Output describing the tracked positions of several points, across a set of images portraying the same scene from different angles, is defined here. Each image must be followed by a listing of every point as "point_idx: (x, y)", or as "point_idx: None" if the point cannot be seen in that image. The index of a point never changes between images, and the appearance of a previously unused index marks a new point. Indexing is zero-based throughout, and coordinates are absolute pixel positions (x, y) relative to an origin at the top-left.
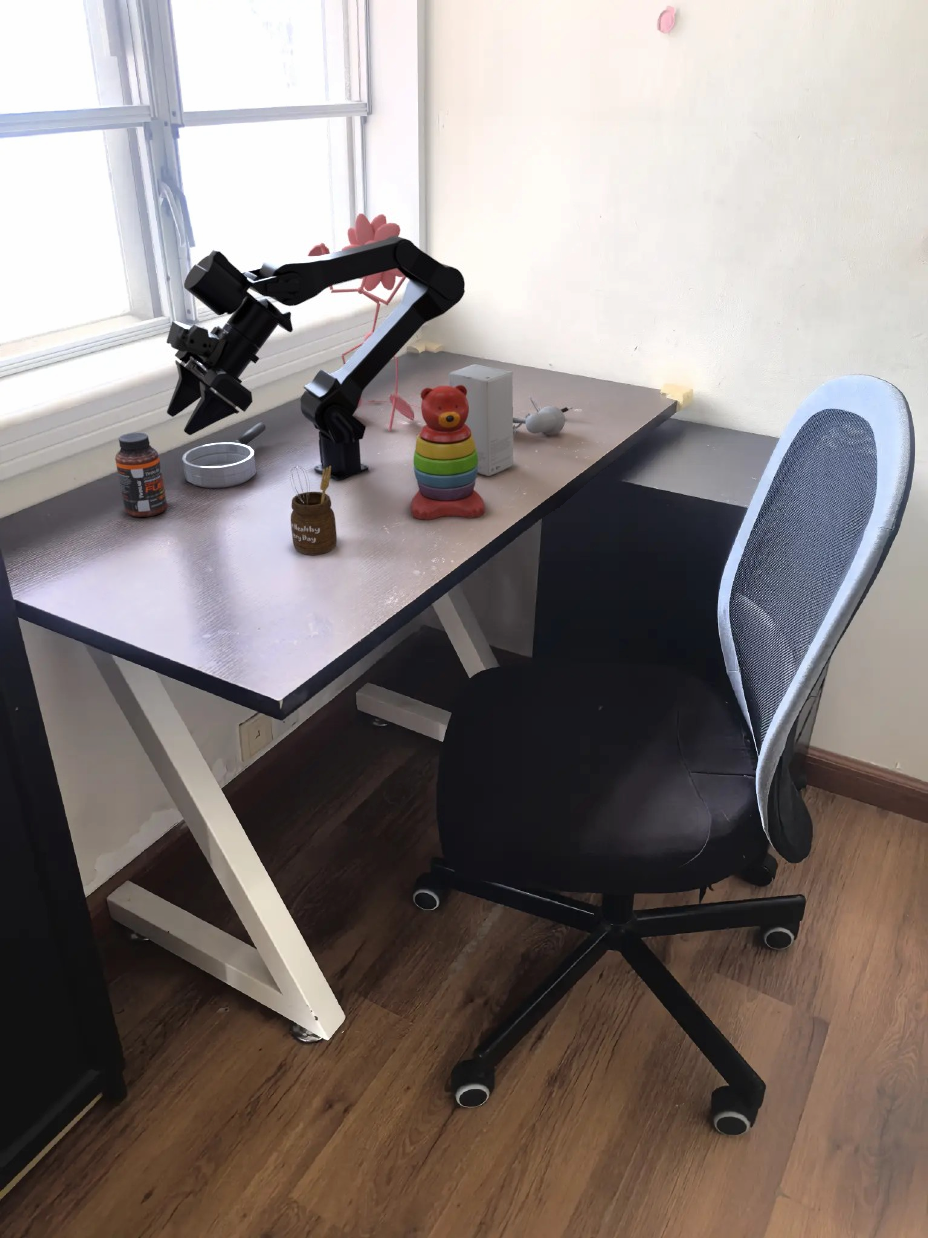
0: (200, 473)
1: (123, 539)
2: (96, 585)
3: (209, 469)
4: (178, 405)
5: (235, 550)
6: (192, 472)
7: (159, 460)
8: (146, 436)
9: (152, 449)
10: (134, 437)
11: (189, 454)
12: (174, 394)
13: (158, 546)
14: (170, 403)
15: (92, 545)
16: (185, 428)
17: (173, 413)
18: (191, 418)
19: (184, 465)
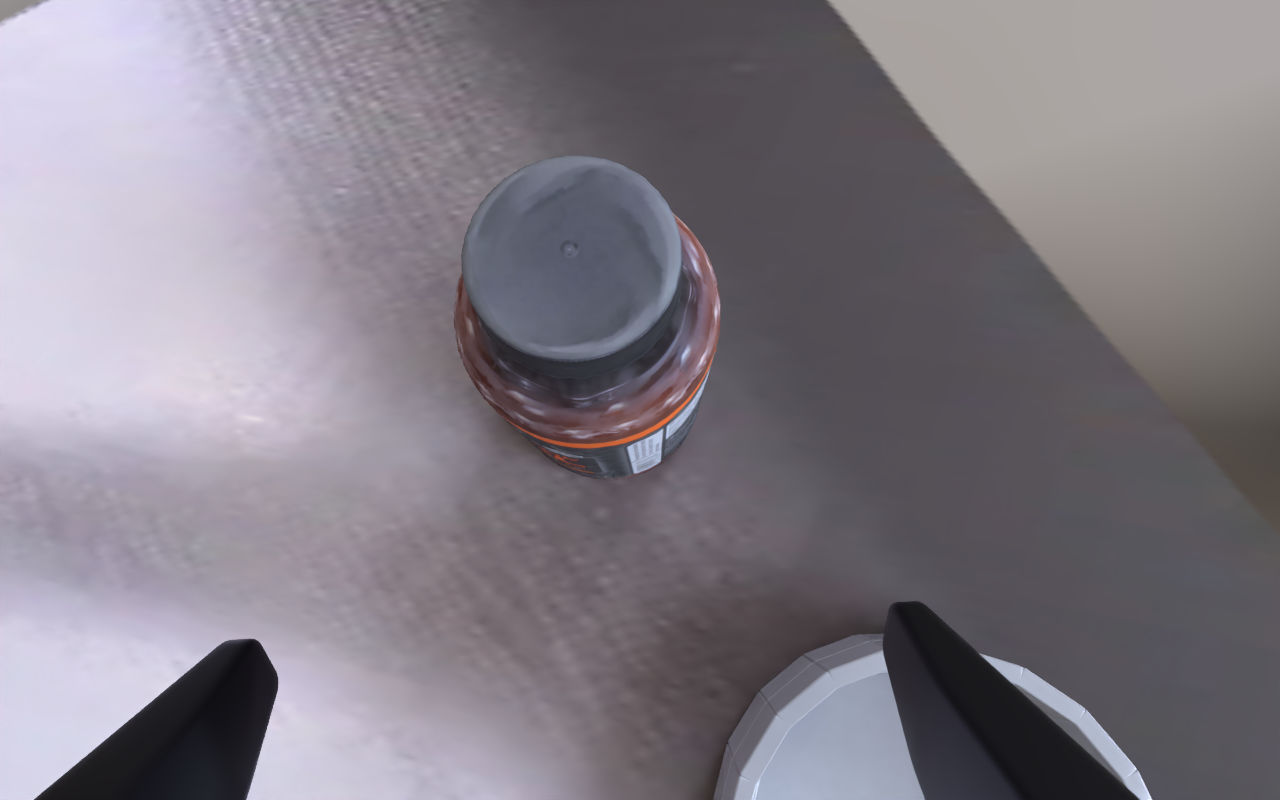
0: (771, 705)
1: (380, 272)
2: (81, 151)
3: (742, 764)
4: (940, 761)
5: (26, 649)
6: (813, 666)
7: (574, 448)
8: (528, 343)
9: (557, 400)
10: (542, 255)
11: (1051, 711)
12: (1054, 783)
13: (246, 377)
14: (966, 673)
15: (390, 171)
16: (204, 658)
17: (894, 665)
18: (87, 771)
19: None
